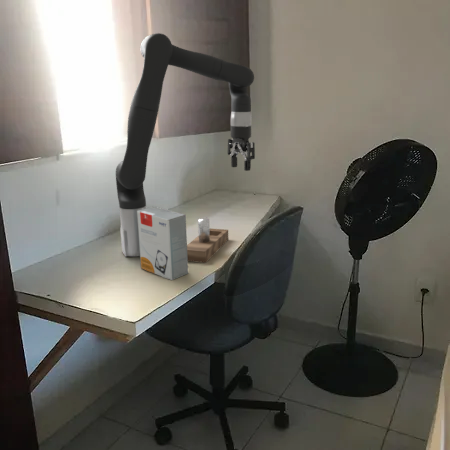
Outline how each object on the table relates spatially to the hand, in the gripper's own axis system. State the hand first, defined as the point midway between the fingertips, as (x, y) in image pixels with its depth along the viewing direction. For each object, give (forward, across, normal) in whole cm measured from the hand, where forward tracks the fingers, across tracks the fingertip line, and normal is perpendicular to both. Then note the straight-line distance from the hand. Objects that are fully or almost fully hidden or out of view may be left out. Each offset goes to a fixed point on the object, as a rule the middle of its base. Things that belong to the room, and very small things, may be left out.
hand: (240, 168), depth 189 cm
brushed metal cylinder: (+23, +5, -19) cm, 30 cm away
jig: (+27, +4, -17) cm, 32 cm away
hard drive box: (+28, +14, -39) cm, 50 cm away
